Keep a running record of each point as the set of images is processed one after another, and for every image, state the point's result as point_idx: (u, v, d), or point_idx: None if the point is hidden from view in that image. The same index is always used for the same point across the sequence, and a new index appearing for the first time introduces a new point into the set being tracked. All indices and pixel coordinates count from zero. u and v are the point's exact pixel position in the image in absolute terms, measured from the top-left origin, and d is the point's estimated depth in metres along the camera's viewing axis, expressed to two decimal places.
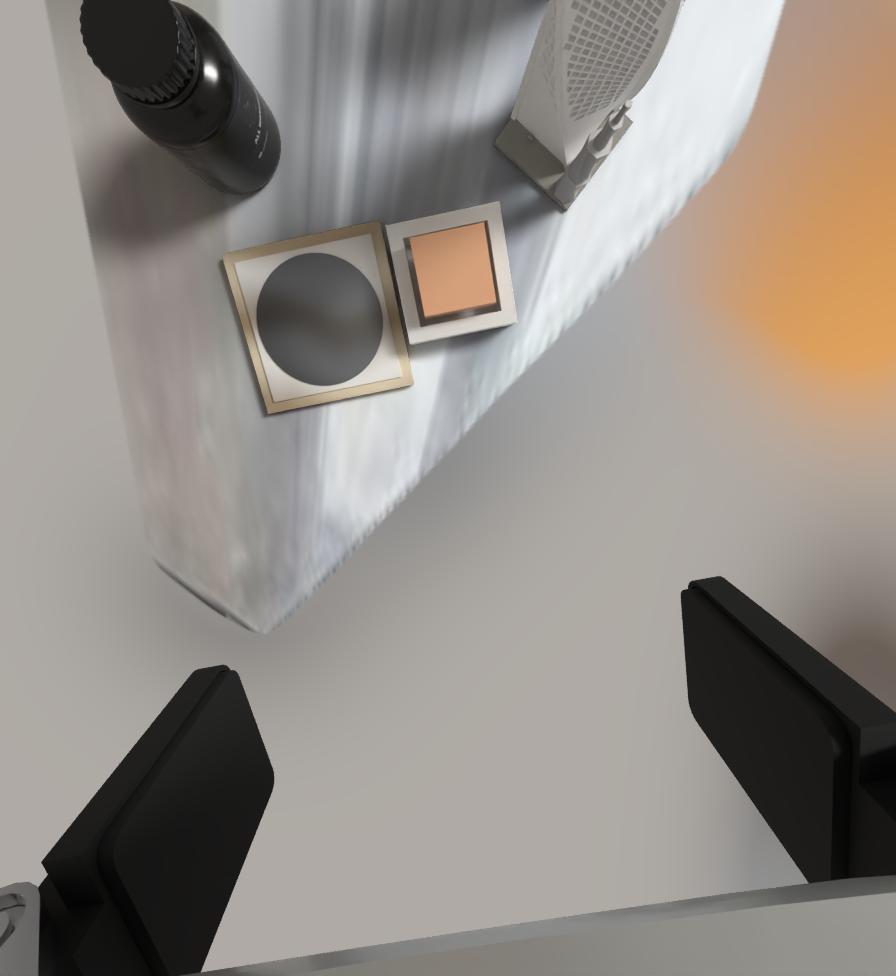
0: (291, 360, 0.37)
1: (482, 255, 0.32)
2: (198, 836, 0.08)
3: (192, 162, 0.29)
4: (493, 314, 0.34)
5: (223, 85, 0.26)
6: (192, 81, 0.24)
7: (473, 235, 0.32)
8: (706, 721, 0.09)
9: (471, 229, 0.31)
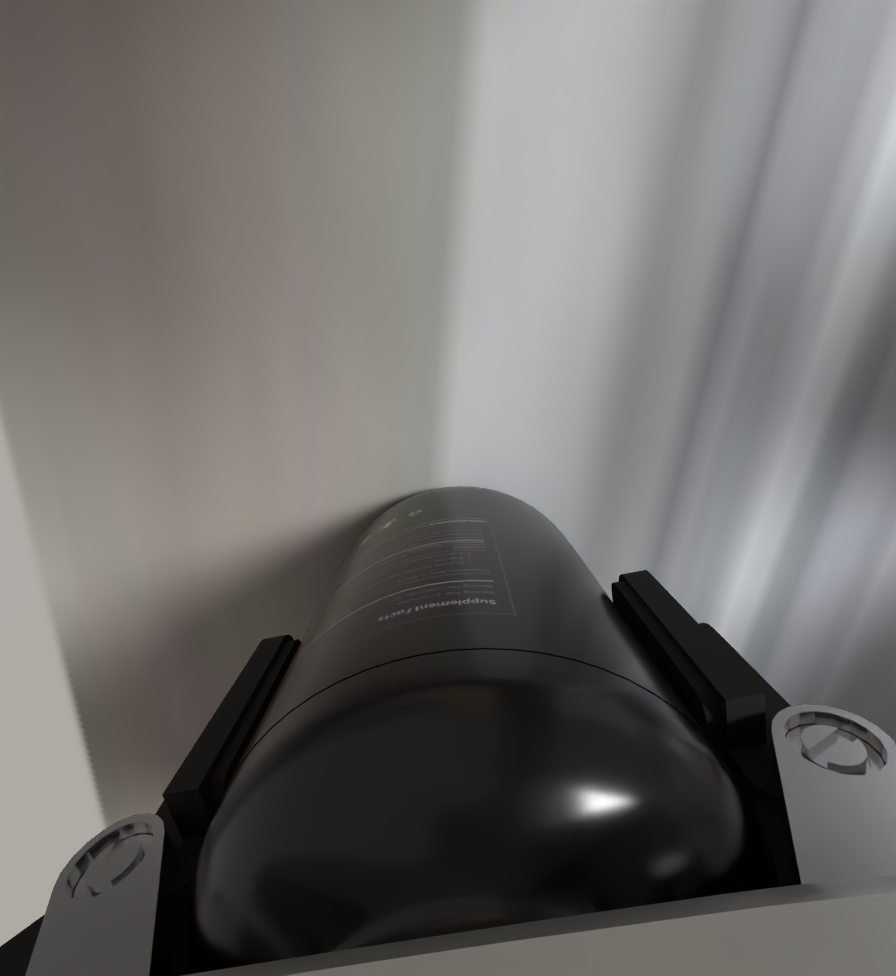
0: None
1: None
2: None
3: None
4: None
5: None
6: None
7: None
8: None
9: None
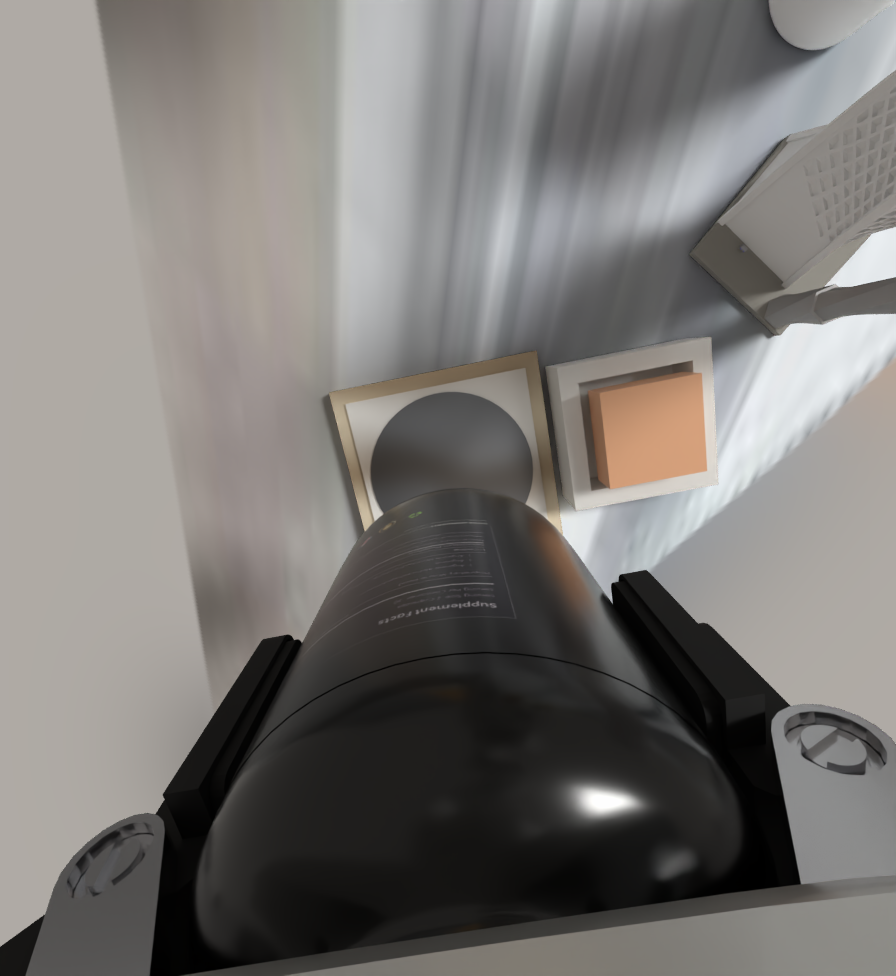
0: None
1: (694, 414, 0.24)
2: None
3: None
4: (688, 475, 0.26)
5: None
6: None
7: (686, 389, 0.23)
8: None
9: (684, 381, 0.23)
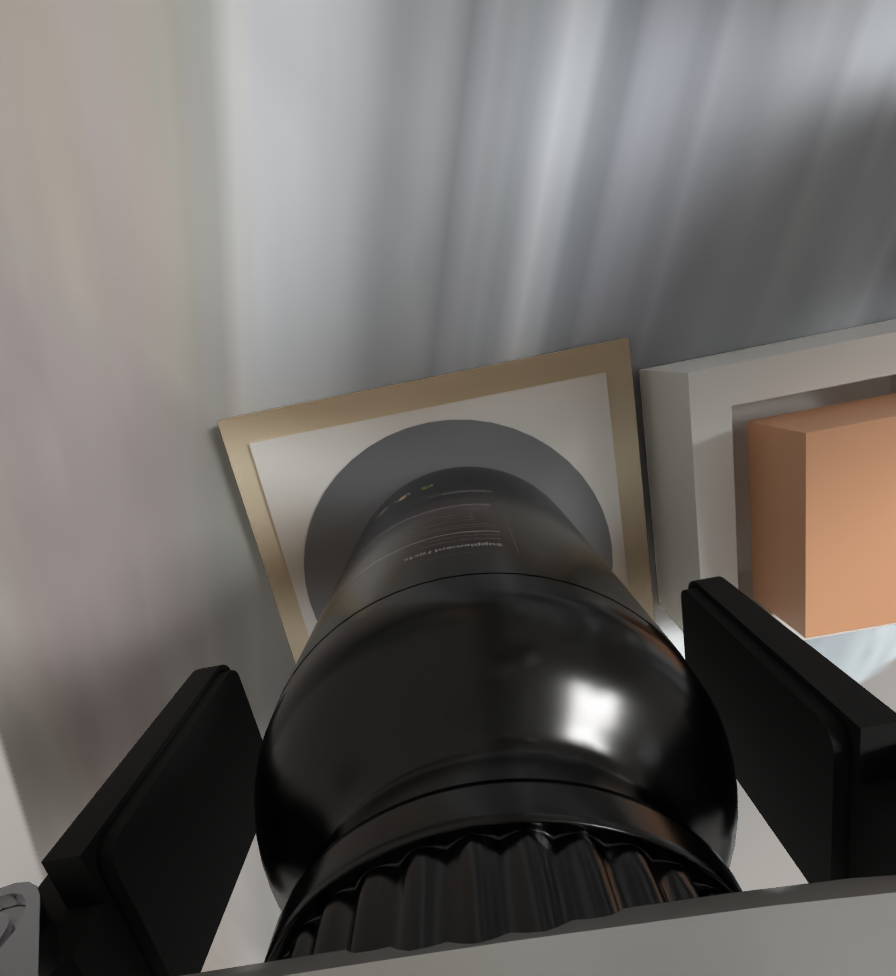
0: None
1: None
2: (198, 836, 0.08)
3: None
4: None
5: None
6: None
7: None
8: None
9: None
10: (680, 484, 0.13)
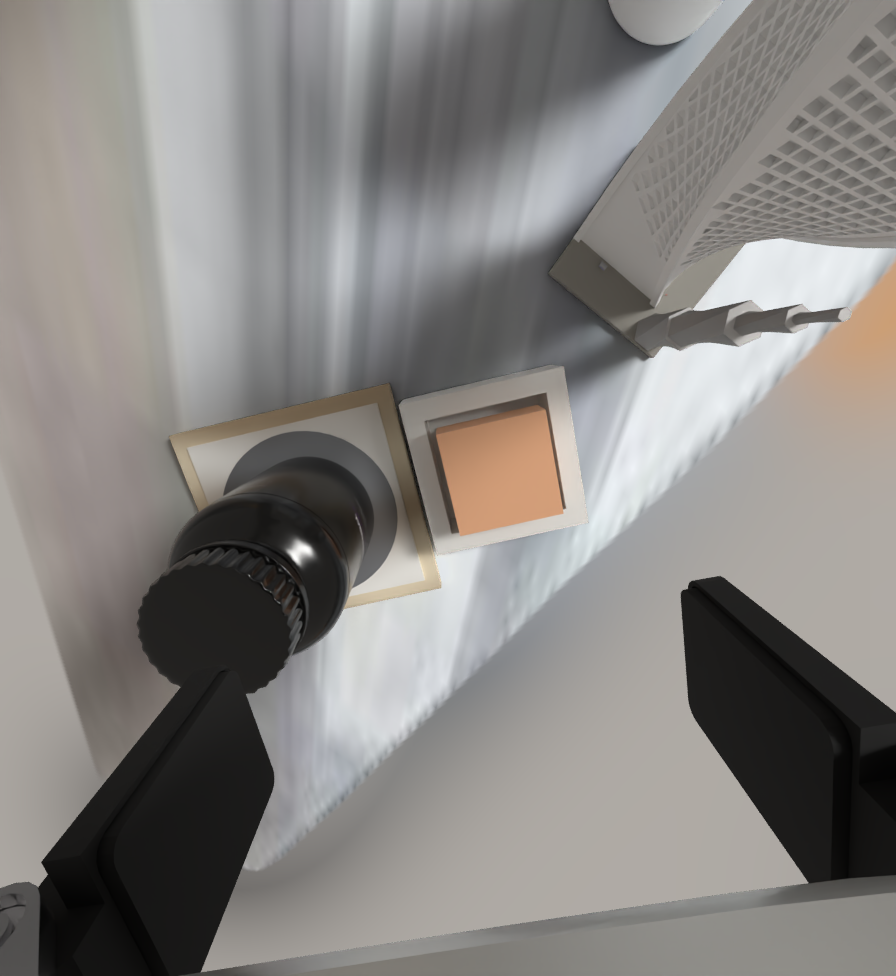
0: None
1: (543, 454, 0.22)
2: (198, 836, 0.08)
3: None
4: None
5: (335, 603, 0.18)
6: (299, 643, 0.16)
7: (530, 427, 0.21)
8: (706, 721, 0.09)
9: (527, 419, 0.21)
10: None
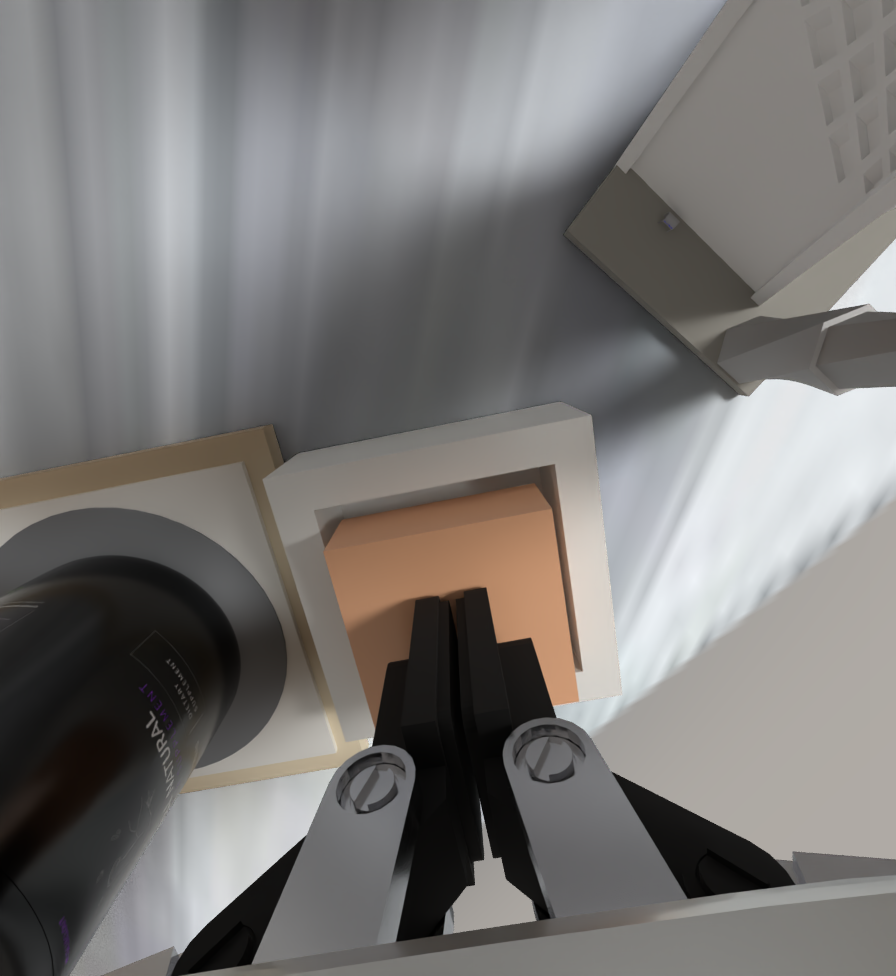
0: None
1: (543, 593, 0.11)
2: (464, 732, 0.09)
3: None
4: None
5: None
6: None
7: (519, 543, 0.10)
8: None
9: (514, 526, 0.10)
10: None
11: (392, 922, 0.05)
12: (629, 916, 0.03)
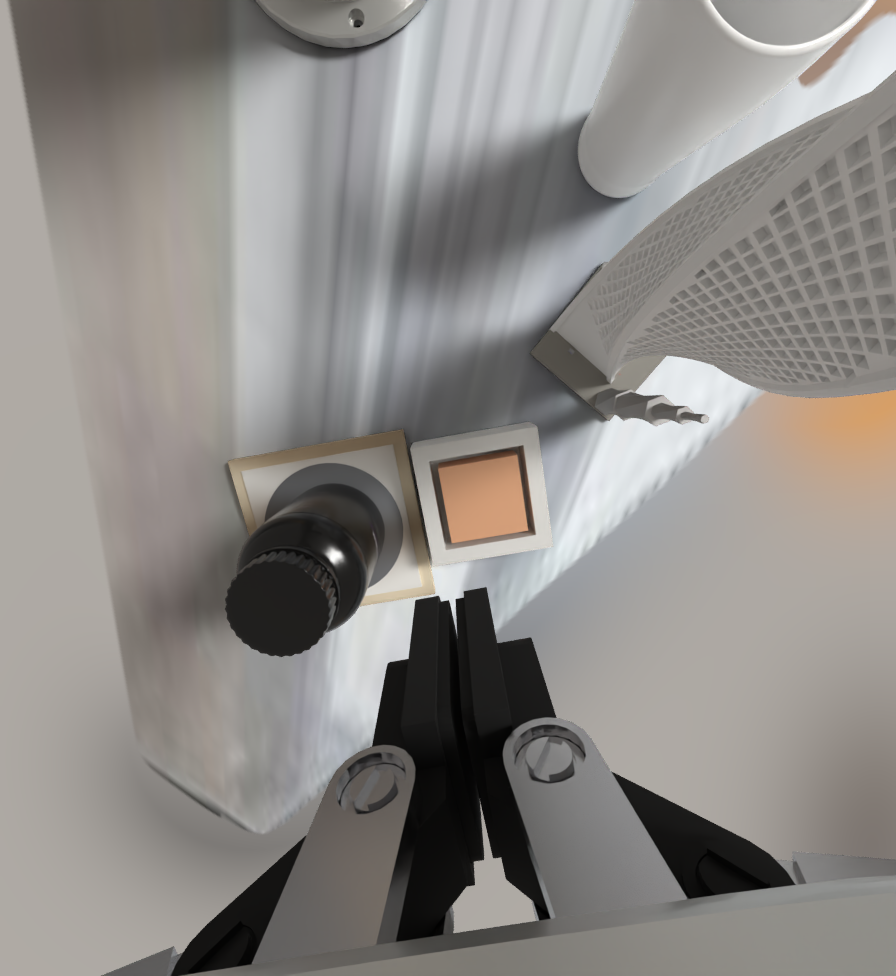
0: None
1: (514, 486, 0.30)
2: (464, 732, 0.09)
3: None
4: (526, 538, 0.31)
5: (357, 595, 0.24)
6: (332, 622, 0.23)
7: (505, 467, 0.30)
8: None
9: (504, 461, 0.30)
10: None
11: (392, 922, 0.05)
12: (629, 916, 0.03)
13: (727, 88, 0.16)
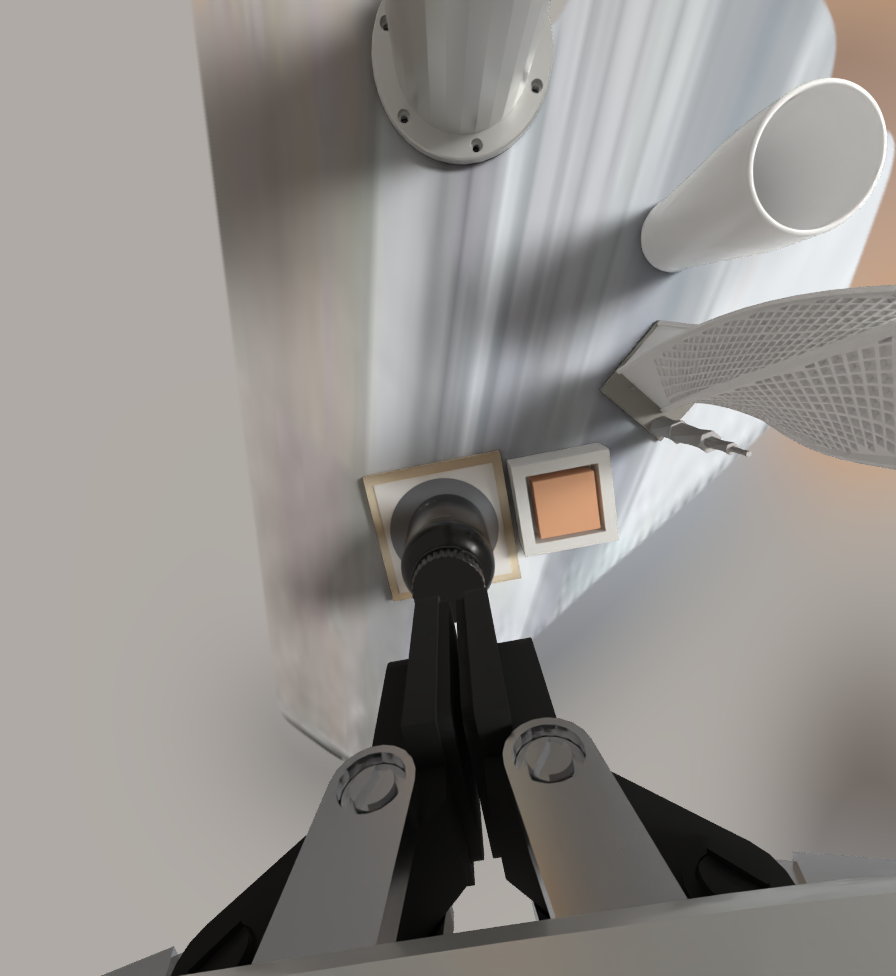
0: None
1: (590, 494, 0.39)
2: (464, 732, 0.09)
3: None
4: (598, 534, 0.40)
5: (490, 580, 0.34)
6: None
7: (584, 480, 0.39)
8: None
9: (583, 475, 0.39)
10: (515, 500, 0.40)
11: (392, 922, 0.05)
12: (629, 916, 0.03)
13: (768, 244, 0.25)
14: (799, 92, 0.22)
